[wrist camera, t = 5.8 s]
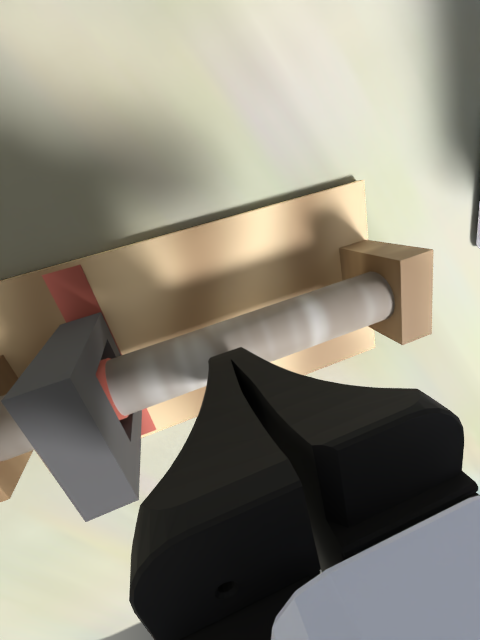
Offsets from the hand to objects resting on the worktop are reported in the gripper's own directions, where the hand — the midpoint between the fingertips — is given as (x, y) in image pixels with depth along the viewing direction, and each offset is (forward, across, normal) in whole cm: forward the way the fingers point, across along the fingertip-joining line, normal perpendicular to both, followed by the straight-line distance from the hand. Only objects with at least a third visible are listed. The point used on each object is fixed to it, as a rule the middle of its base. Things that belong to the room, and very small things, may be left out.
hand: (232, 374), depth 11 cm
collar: (+6, +5, 0) cm, 8 cm away
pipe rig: (+6, 0, 0) cm, 6 cm away
